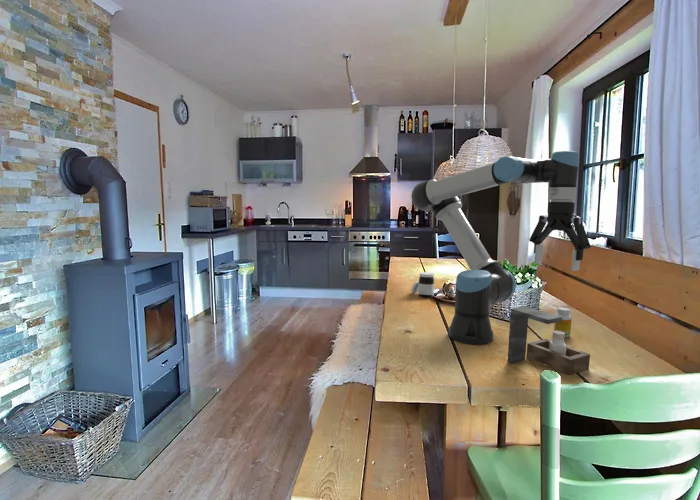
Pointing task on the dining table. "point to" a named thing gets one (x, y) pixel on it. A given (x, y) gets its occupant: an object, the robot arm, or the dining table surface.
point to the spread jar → (424, 285)
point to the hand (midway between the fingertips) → (555, 267)
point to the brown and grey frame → (541, 343)
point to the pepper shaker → (558, 343)
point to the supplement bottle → (563, 321)
